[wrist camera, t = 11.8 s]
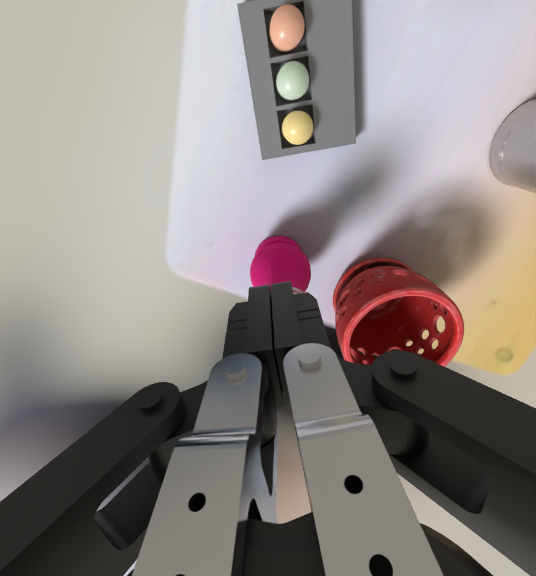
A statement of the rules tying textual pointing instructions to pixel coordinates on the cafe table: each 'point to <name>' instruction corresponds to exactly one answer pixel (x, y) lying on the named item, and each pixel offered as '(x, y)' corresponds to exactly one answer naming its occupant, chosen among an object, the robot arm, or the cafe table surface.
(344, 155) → the cafe table surface
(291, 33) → the terracotta button
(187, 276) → the cafe table surface
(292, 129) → the ochre button
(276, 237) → the pepper mill
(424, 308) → the plant pot
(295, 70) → the sage button
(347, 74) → the panel
